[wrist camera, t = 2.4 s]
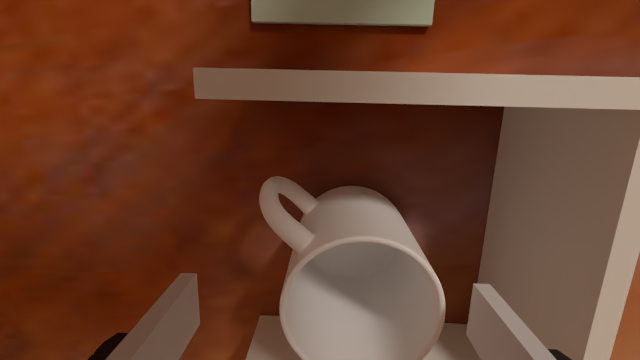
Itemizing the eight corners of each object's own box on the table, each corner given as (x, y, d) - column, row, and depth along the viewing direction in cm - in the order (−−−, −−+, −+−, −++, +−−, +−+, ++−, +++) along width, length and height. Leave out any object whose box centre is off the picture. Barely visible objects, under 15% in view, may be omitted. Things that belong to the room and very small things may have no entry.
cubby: (254, 80, 24) (192, 67, 13) (524, 87, 23) (687, 78, 13) (260, 327, 29) (218, 462, 18) (483, 336, 28) (575, 482, 18)
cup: (349, 298, 28) (359, 409, 18) (242, 202, 26) (188, 265, 16) (425, 233, 26) (481, 315, 16) (315, 125, 25) (305, 145, 15)
